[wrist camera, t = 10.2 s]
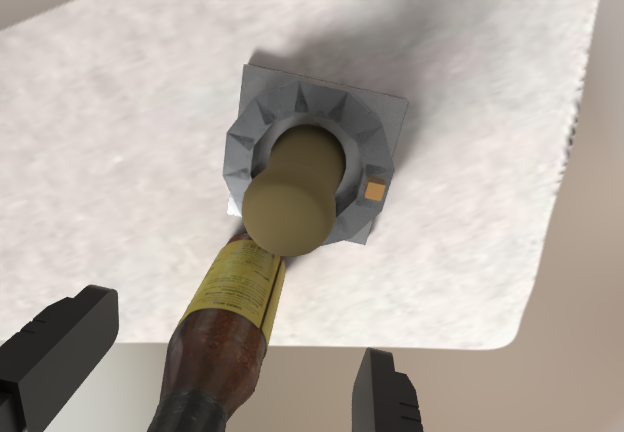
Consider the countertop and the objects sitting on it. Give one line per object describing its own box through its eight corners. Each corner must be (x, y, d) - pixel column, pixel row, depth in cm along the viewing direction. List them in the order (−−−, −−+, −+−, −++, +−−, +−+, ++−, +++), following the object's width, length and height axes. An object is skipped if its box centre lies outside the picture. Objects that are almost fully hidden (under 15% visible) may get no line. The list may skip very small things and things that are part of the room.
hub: (230, 209, 32) (214, 231, 28) (247, 64, 27) (229, 66, 23) (364, 239, 32) (366, 266, 28) (406, 99, 27) (416, 107, 23)
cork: (360, 178, 29) (363, 247, 19) (294, 210, 31) (266, 289, 21) (322, 108, 27) (305, 144, 17) (254, 147, 29) (202, 200, 19)
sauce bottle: (210, 241, 34) (49, 461, 16) (271, 219, 32) (169, 437, 14) (243, 296, 36) (134, 544, 18) (301, 279, 35) (245, 530, 17)
